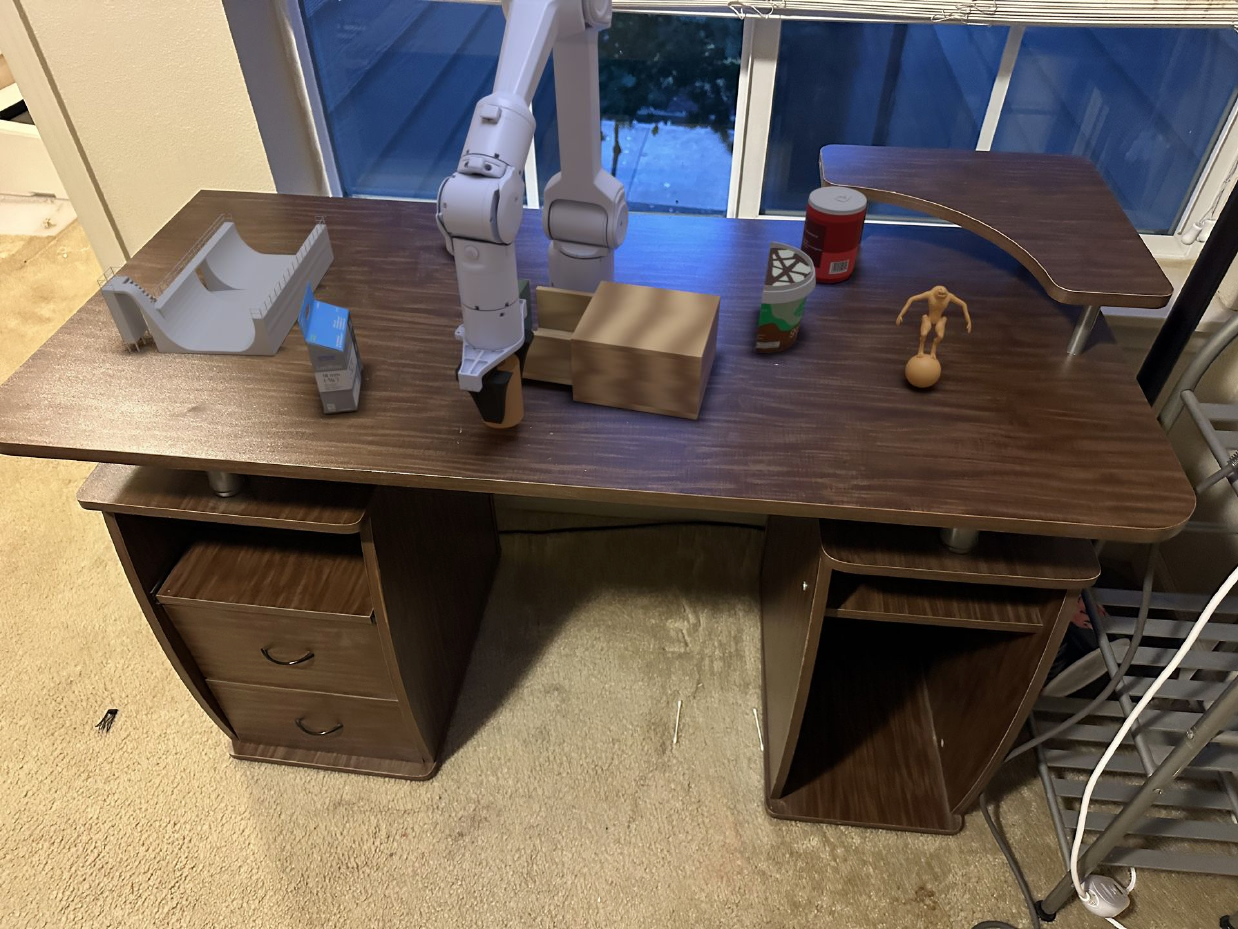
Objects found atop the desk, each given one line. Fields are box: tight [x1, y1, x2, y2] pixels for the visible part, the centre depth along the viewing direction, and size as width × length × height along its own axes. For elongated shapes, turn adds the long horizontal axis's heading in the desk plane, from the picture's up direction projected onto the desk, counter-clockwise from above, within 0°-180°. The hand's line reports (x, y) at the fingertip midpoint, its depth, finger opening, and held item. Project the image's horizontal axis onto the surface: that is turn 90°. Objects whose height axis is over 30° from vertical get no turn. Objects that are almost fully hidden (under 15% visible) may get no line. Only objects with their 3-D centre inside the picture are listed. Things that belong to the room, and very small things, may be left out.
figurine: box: [895, 285, 972, 389], centre depth 99 cm, size 8×6×12 cm
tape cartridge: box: [297, 281, 364, 415], centre depth 97 cm, size 9×4×12 cm, turn 9°
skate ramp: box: [96, 213, 335, 357], centre depth 112 cm, size 25×19×10 cm
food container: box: [754, 241, 817, 354], centre depth 107 cm, size 12×6×10 cm, turn 168°
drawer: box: [518, 278, 595, 386], centre depth 102 cm, size 18×12×7 cm
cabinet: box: [571, 281, 722, 420], centre depth 100 cm, size 15×13×9 cm
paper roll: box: [481, 353, 525, 429], centre depth 91 cm, size 5×5×7 cm
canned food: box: [800, 185, 868, 284], centre depth 119 cm, size 8×8×11 cm
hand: (501, 406), depth 92 cm, fingers closed on paper roll, 4 cm apart
